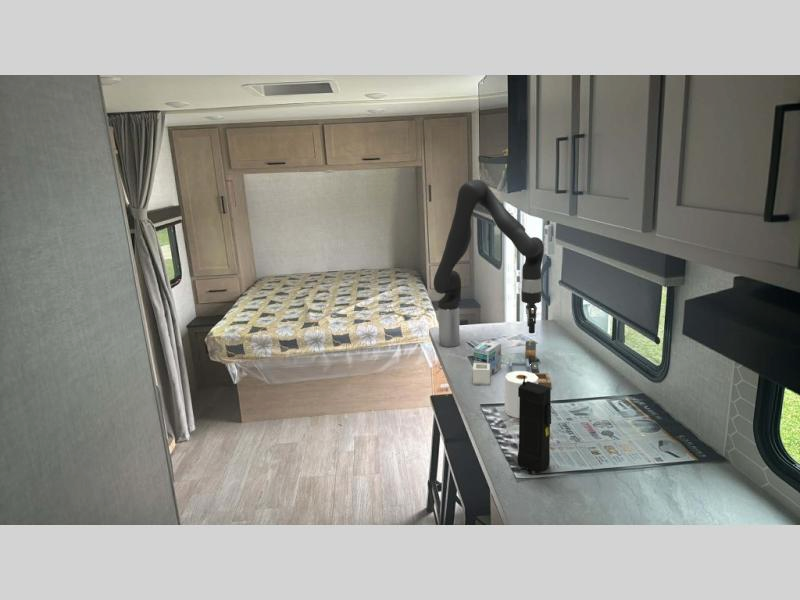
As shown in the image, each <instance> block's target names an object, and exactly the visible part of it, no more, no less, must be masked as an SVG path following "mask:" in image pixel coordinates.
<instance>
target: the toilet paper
mask: <svg viewBox="0 0 800 600" xmlns="http://www.w3.org/2000/svg"><path fill="white" fill-rule="evenodd" d="M523 376H525V382H527V381H529V382H533V383H536V384H538V377H537V376H536V375H535V374H534V373H530V372H526V371H514V372H510V373H507V372H506V374H505V376H504V412H505V413H506V414H507V416H509V417H511V418H512V417H513V418H515V419H519V407H520V397H518V388H519V386H520V385H521V384H523V381H524V377H523Z"/></svg>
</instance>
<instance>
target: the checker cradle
mask: <svg viewBox="0 0 800 600" xmlns="http://www.w3.org/2000/svg"><path fill="white" fill-rule="evenodd" d="M505 365H506V366H507V367H506V374H507V373H510V372H514V371H526V372H530V373H541V372H540V369H539V364H538V362H537V361H535V362H531V365H530V364H529V360H528V359H526V362H522V361H520V362H519V361H518V362H513V361H512V358H511V357H510V358H508V363H506V364H505Z"/></svg>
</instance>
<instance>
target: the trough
mask: <svg viewBox="0 0 800 600" xmlns="http://www.w3.org/2000/svg"><path fill="white" fill-rule="evenodd" d="M534 374H535V375H536V376H537V377H538V384H539V385H543V386H546V387H549V388H551V389H552V381H551V377H550V374H549V373H544V372H543V373H542V372H540V373H534Z"/></svg>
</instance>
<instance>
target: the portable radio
mask: <svg viewBox="0 0 800 600" xmlns="http://www.w3.org/2000/svg"><path fill="white" fill-rule="evenodd" d="M523 377H524V381H523V384H521V385H520V386H519V388H518V397H520V407H519V418H518V419H519V420H518V421H519V422H518V423H519V424H518V427H519V428H518V429H519V430H518V451H517V466H519V465H520V466H519V467H522V466H523V467H522V468H524V467H525V468H524V469H526V468H528V469H527V470H529V471H531V472H533V471H534V472H533V473H535V474H539V473H542V472H543V471H544V470H545V469H546V467H547V468H548V467H549V466H550V465H551V461H550V460H551V459H550V457H551V456H550V455H551V454H550V451H551V450H550V448H551V447H550V440H551V439H550V436H551V424H552V405H551V398H552V397H551V391H552V390H551V389H552V387H551V388H549V387H546V386H543V385H539V384H536V383H533V382H529V381H527V382H525V376H523Z"/></svg>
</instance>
